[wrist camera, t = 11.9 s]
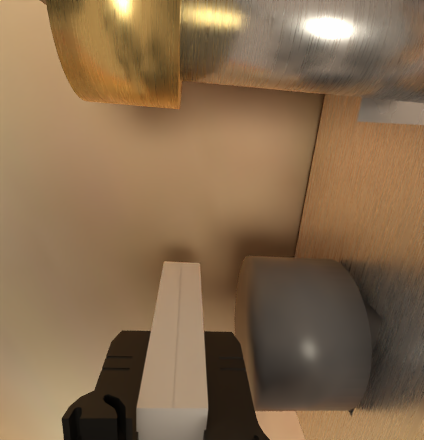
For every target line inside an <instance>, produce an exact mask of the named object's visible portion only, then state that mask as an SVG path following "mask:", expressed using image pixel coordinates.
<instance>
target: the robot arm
mask: <svg viewBox="0 0 424 440" xmlns="http://www.w3.org/2000/svg"><path fill="white" fill-rule="evenodd" d="M62 425H63V434H64V440H270V439H269V438H268V437H267V436H266V435H265V434H264V433H263V431H262V429H261V428H260V426H259V424H258V421H257V418H256V414H255V410H254V405H253V400H252V395H251V391H250V386H249V381H248V377H247V372H246V367H245V363H244V360H243V353H242V348H241V344H240V342H239V341H238V340H237V338H236V337H235V336H234V334H233V333H232V332H207V331H204V324H203V307H202V289H201V272H200V263H188V262H166V261H164V264H163V269H162V275H161V280H160V285H159V291H158V296H157V301H156V307H155V312H154V317H153V323H152V328H151V331H124V330H122V331H121V332H120V333H119V334H118V336H117V337H116V338H115V339H114V340H113V341H112V342H111V345H110V347H109V350H108V353H107V357H106V359H105V362H104V365H103V367H102V371H101V373H100V376H99V379H98V382H97V384H96V387H95V390H94V391H92V392H90V393H88V394H86V395H84V396H82V397H80V398H79V399H78V400H77V401H75V402H74V403H73V404H72V405H71V406H69V408H68V410H67V411H66V413H65V414H64V416H63V417H62Z"/></svg>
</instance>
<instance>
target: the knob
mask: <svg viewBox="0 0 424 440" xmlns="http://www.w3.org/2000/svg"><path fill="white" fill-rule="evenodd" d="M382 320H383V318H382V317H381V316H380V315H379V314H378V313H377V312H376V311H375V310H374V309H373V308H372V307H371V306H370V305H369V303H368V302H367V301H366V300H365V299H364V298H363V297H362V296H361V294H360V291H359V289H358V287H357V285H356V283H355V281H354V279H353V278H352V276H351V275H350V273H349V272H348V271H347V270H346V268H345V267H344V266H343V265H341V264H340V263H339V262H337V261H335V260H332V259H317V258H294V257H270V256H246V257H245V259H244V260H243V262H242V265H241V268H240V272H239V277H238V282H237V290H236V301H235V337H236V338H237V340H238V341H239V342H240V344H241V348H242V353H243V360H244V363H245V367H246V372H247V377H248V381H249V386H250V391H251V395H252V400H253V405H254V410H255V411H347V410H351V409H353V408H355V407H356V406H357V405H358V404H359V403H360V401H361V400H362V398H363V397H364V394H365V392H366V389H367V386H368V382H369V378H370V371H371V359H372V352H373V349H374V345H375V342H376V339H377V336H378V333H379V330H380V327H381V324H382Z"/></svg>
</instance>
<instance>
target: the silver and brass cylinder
mask: <svg viewBox="0 0 424 440" xmlns="http://www.w3.org/2000/svg"><path fill="white" fill-rule="evenodd" d="M40 1H42V2H43V3H44V4H46V5H47V10H48V15H49V20H50V25H51V30H52V34H53V38H54V42H55V46H56V49H57V53H58V56H59V59H60V62H61V65H62V68H63V70H64V73H65V75H66V77H67V79H68V81H69V83H70V85H71V87H72V89H73V90H74V92H75V93H76V94H77V95H78V96H79V98H81V99H82V100H84V101H89V102H101V103H113V104H125V105H137V106H148V107H160V108H172V109H180V102H181V91H182V81H190V82H200V83H211V84H222V85H233V86H243V87H254V88H265V89H275V90H286V91H297V92H308V93H318V94H329V95H340V96H351V97H361V98H372V99H383V100H393V101H404V102H415V103H424V0H40Z"/></svg>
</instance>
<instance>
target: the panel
mask: <svg viewBox="0 0 424 440" xmlns="http://www.w3.org/2000/svg"><path fill="white" fill-rule="evenodd" d="M294 258H317V259H332V260H335V261H337V262H339V263H340V264H341V265H343V266H344V267H345V268H346V270H347V271H348V272H349V273H350V275H351V276H352V278H353V279H354V281H355V283H356V285H357V287H358V289H359V291H360V294H361V296H362V297H363V298H364V299H365V300H366V301H367V302H368V303H369V305H370V306H371V307H372V308H373V309H374V310H375V311H376V312H377V313H378V314H379V315H380V316H381V317H382V318H383V320H382V324H381V327H380V330H379V333H378V336H377V339H376V342H375V345H374V349H373V352H372V359H371V371H370V378H369V382H368V386H367V389H366V392H365V394H364V397H363V398H362V400H361V401H360V403H359V404H358V405H357V406H356V407H355V408H353V409H351V410H347V411H296V414H297V417H298V420H299V423H300V426H301V428H302V431H303V434H304V437H305V440H424V103H415V102H404V101H393V100H383V99H372V98H361V97H351V96H340V95H329V94H325V98H324V103H323V108H322V114H321V119H320V124H319V130H318V135H317V140H316V146H315V151H314V156H313V162H312V167H311V172H310V177H309V183H308V188H307V193H306V199H305V204H304V209H303V215H302V220H301V225H300V231H299V236H298V241H297V247H296V252H295V257H294Z"/></svg>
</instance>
